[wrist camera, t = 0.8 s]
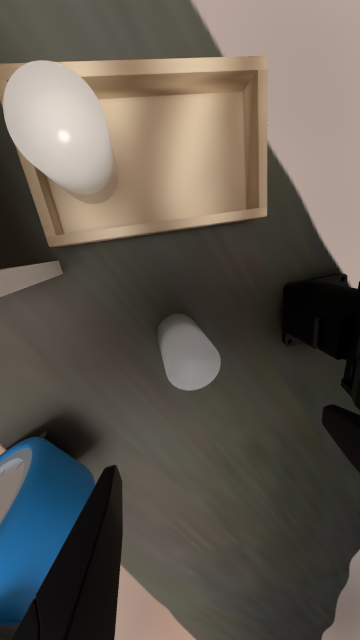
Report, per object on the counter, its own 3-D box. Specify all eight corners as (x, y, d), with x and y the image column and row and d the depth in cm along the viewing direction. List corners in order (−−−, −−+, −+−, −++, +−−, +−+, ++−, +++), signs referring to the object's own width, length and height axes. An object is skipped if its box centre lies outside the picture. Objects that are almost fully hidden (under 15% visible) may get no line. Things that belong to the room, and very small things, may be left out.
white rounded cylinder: (109, 134, 14) (93, 59, 8) (123, 200, 15) (116, 173, 10) (47, 139, 13) (-16, 62, 8) (67, 207, 15) (25, 182, 9)
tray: (246, 85, 15) (267, 55, 13) (249, 220, 18) (267, 216, 16) (14, 97, 13) (-12, 64, 11) (61, 247, 16) (49, 246, 14)
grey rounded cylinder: (194, 309, 20) (218, 334, 14) (199, 346, 21) (222, 383, 15) (153, 317, 19) (160, 347, 13) (160, 355, 20) (170, 396, 15)
